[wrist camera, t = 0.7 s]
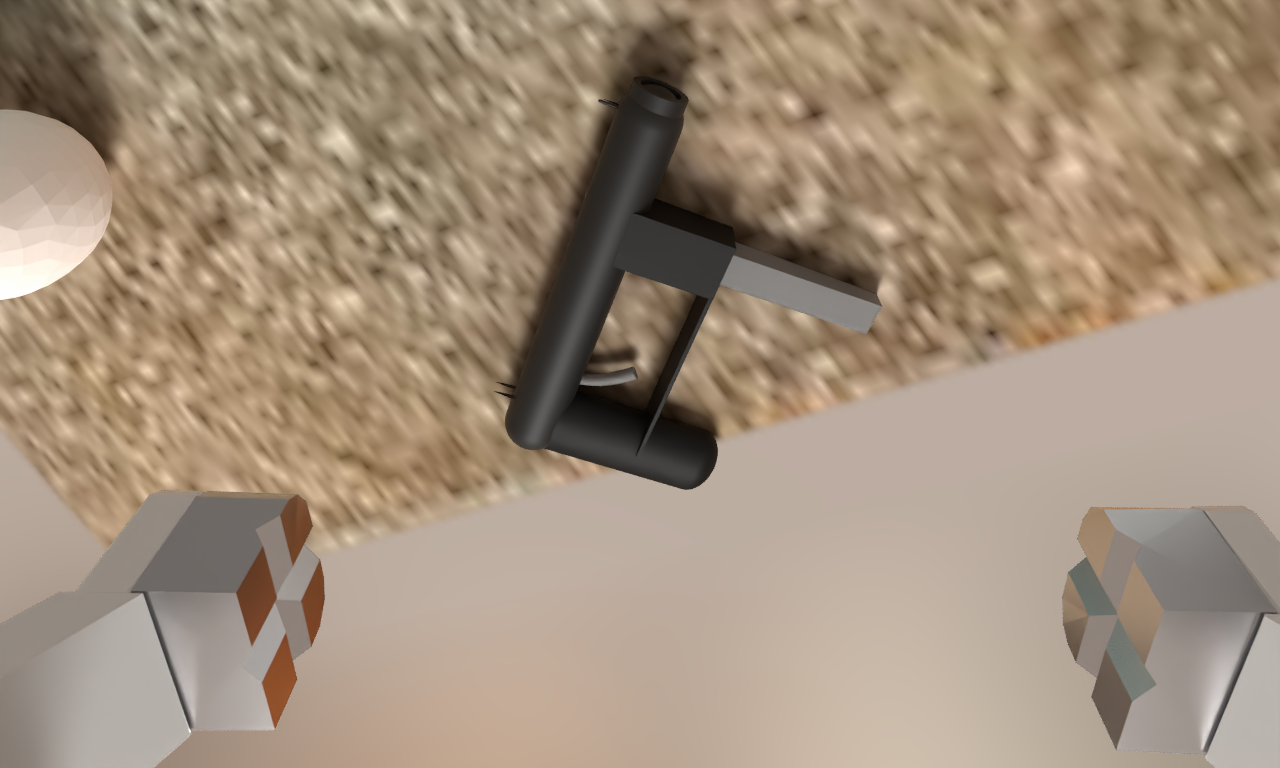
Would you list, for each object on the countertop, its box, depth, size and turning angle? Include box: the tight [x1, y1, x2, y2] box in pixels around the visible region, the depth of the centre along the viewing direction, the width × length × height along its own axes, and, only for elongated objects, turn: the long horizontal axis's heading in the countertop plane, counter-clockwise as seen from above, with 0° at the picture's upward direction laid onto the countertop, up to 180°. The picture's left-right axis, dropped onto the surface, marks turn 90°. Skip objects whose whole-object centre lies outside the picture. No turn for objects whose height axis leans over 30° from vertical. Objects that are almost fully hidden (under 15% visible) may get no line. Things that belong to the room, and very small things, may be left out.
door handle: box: [494, 77, 882, 490], centre depth 49 cm, size 3×20×16 cm
